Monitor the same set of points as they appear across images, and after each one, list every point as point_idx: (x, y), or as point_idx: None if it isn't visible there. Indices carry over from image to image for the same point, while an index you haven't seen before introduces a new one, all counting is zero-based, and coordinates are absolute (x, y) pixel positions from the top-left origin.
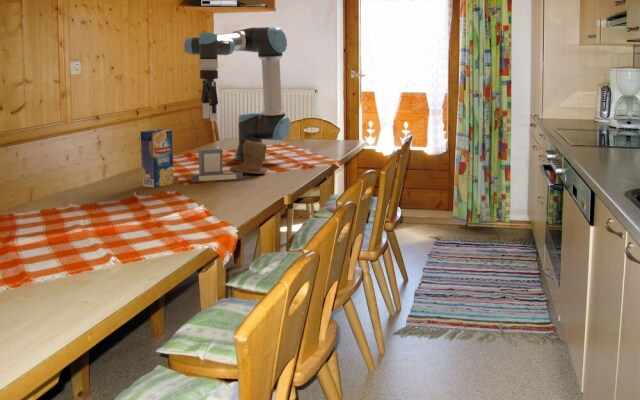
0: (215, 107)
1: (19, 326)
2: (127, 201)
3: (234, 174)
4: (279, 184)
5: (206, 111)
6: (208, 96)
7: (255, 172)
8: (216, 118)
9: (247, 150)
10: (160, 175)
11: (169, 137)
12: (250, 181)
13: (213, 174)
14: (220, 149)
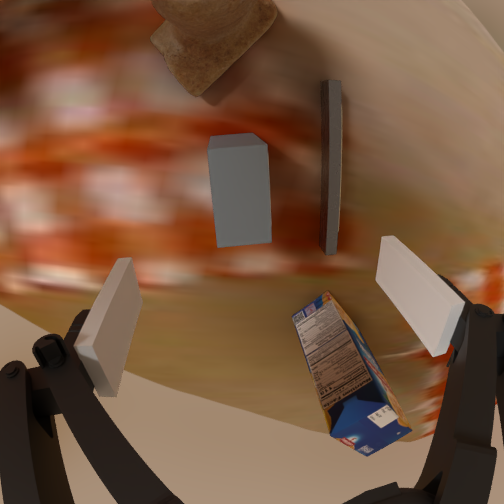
0: (468, 304)
1: None
2: (444, 356)
3: (341, 111)
4: (428, 22)
5: (124, 313)
6: (122, 434)
7: (274, 19)
8: (402, 247)
9: (238, 14)
10: (359, 335)
11: (382, 390)
12: (366, 70)
13: (340, 185)
14: (263, 151)
